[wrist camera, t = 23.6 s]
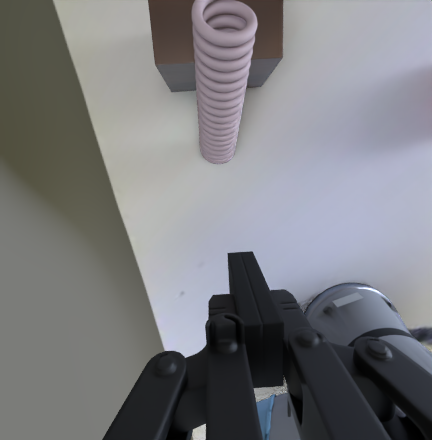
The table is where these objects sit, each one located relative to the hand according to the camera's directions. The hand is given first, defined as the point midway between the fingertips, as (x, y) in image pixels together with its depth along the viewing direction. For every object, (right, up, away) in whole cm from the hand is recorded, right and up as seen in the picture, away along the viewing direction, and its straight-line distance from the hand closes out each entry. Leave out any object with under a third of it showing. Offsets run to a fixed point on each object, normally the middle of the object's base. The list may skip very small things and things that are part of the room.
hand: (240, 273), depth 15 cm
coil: (-1, +18, +11) cm, 21 cm away
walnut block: (-2, +24, +17) cm, 29 cm away
